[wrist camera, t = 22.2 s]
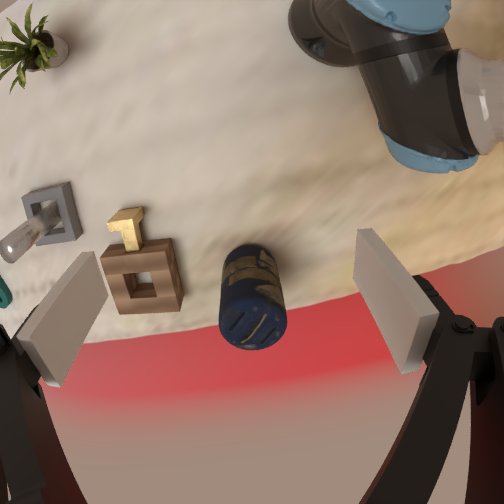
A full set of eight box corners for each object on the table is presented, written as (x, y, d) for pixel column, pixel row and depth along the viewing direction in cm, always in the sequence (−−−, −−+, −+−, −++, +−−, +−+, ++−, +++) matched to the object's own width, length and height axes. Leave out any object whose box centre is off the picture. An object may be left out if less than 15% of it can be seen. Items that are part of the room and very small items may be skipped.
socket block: (109, 245, 53) (99, 258, 48) (170, 238, 53) (164, 251, 48) (126, 299, 58) (119, 314, 54) (183, 295, 58) (179, 311, 54)
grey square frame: (29, 192, 47) (21, 197, 44) (69, 182, 47) (61, 186, 44) (43, 239, 52) (36, 246, 49) (82, 233, 52) (76, 240, 49)
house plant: (30, 110, 40) (-31, 123, 26) (17, 48, 34) (-41, 44, 19) (93, 75, 39) (37, 71, 25) (79, 9, 33) (26, -13, 18)
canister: (287, 266, 56) (304, 333, 40) (248, 297, 59) (253, 368, 43) (250, 231, 53) (255, 292, 37) (211, 266, 56) (202, 333, 40)
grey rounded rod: (45, 204, 48) (-5, 240, 34) (61, 200, 48) (11, 237, 34) (50, 223, 50) (4, 264, 36) (66, 220, 50) (20, 262, 36)
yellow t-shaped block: (118, 210, 50) (106, 222, 45) (142, 206, 50) (132, 219, 45) (131, 259, 54) (122, 275, 49) (153, 257, 54) (146, 273, 49)
